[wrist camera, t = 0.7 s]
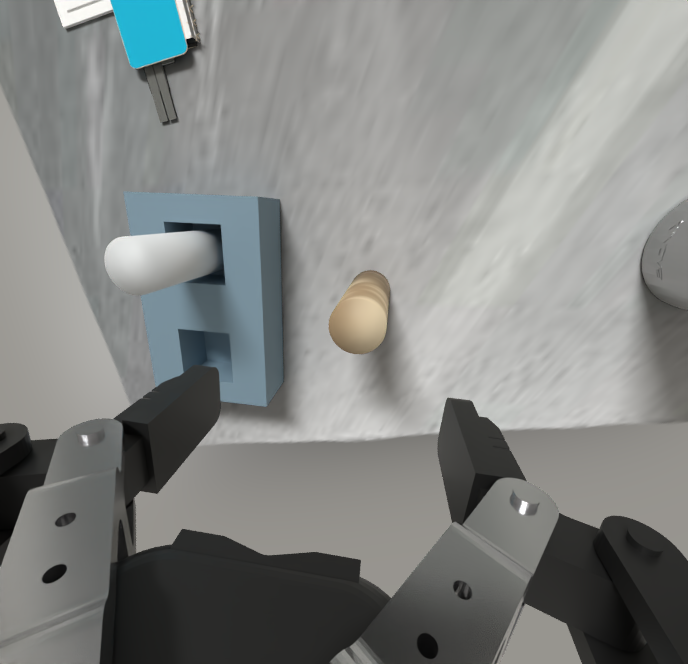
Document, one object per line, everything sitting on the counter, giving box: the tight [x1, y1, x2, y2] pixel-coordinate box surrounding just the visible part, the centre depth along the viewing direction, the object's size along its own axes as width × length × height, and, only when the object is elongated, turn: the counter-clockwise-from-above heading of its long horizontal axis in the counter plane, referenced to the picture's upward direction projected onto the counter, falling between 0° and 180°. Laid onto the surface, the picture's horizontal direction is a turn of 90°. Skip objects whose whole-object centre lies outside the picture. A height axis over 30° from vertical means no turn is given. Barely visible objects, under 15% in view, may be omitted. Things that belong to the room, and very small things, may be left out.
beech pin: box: [329, 270, 390, 354], centre depth 26 cm, size 4×4×11 cm
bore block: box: [105, 192, 284, 407], centre depth 28 cm, size 11×18×12 cm, turn 177°
